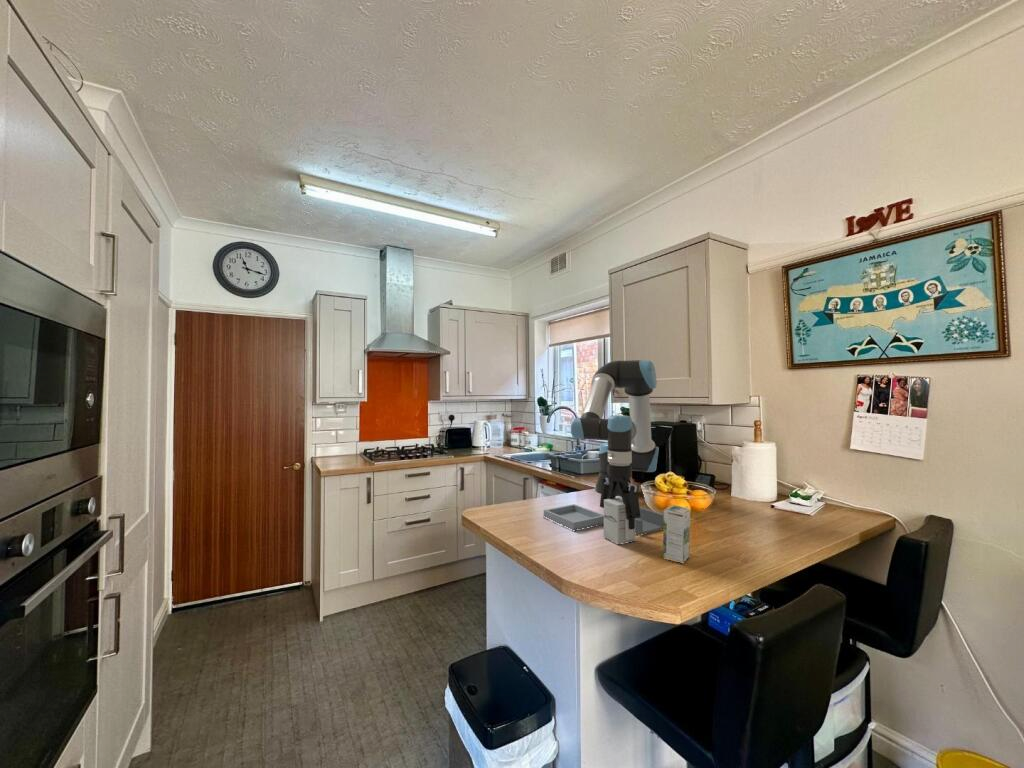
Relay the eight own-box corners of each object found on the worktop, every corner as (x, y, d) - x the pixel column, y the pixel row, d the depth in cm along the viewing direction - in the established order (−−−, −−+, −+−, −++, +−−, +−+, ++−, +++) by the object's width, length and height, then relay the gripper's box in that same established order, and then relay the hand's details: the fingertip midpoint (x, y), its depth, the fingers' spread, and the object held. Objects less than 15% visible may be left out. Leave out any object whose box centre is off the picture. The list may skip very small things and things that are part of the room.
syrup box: (669, 553, 123) (669, 504, 123) (690, 558, 119) (690, 508, 119) (662, 559, 118) (662, 508, 118) (684, 565, 115) (684, 512, 115)
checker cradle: (633, 518, 156) (633, 502, 156) (665, 528, 144) (665, 512, 144) (608, 523, 149) (608, 507, 149) (639, 535, 137) (639, 518, 137)
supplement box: (602, 537, 135) (602, 499, 135) (620, 534, 138) (620, 496, 138) (617, 545, 128) (617, 505, 128) (636, 542, 131) (636, 502, 131)
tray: (574, 511, 163) (574, 504, 163) (605, 524, 149) (605, 515, 149) (543, 518, 155) (543, 510, 155) (573, 531, 141) (573, 522, 141)
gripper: (588, 459, 140) (588, 527, 140) (636, 470, 123) (636, 547, 122) (604, 457, 144) (604, 523, 144) (653, 467, 127) (653, 542, 126)
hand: (619, 534), depth 133 cm, fingers closed on supplement box, 8 cm apart
